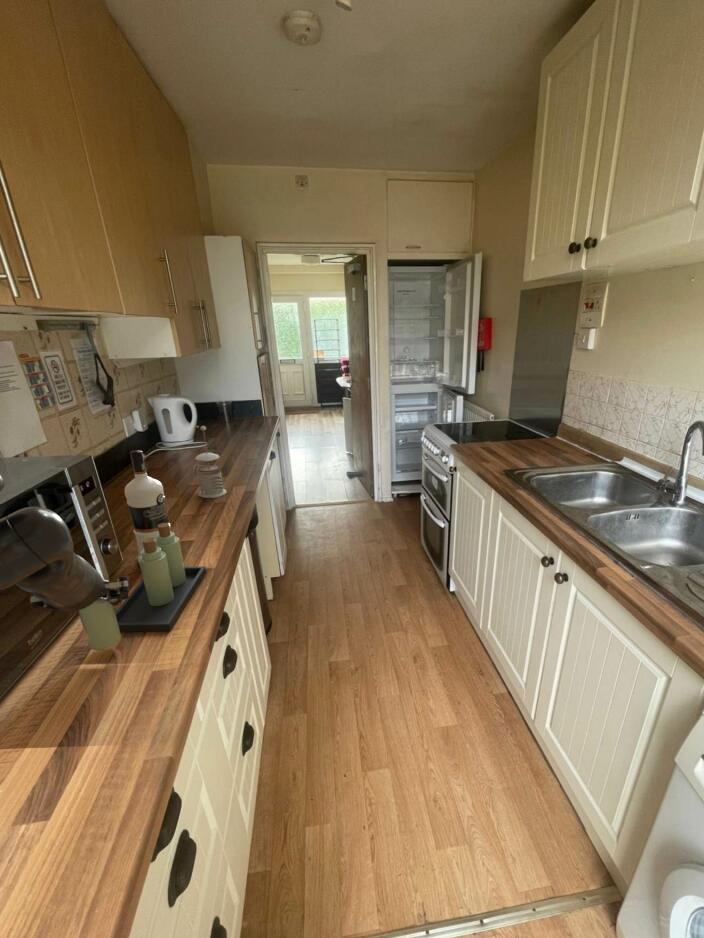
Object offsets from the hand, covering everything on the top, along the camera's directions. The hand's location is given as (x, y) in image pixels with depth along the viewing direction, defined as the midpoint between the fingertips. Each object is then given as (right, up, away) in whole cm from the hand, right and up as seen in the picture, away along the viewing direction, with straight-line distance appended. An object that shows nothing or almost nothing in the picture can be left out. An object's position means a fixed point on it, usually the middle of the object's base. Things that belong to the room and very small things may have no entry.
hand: (97, 603), depth 79 cm
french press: (-11, +23, +80) cm, 84 cm away
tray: (+3, -3, +18) cm, 18 cm away
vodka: (-7, +4, +34) cm, 35 cm away
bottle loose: (0, -7, +1) cm, 7 cm away
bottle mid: (+3, -3, +18) cm, 18 cm away
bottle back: (+2, 0, +24) cm, 25 cm away
